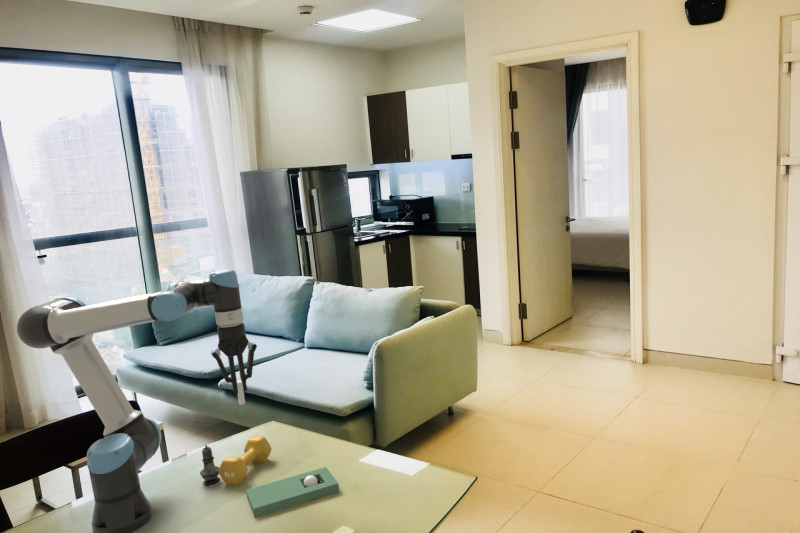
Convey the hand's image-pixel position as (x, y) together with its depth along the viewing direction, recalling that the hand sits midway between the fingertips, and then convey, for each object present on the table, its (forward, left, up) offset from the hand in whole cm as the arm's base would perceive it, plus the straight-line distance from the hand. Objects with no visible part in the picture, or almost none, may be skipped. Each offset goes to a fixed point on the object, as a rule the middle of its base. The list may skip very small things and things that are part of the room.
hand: (242, 402), depth 179 cm
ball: (+14, -11, -24) cm, 30 cm away
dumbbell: (0, +12, -27) cm, 29 cm away
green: (+9, -11, -26) cm, 30 cm away
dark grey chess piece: (-11, +12, -27) cm, 31 cm away
